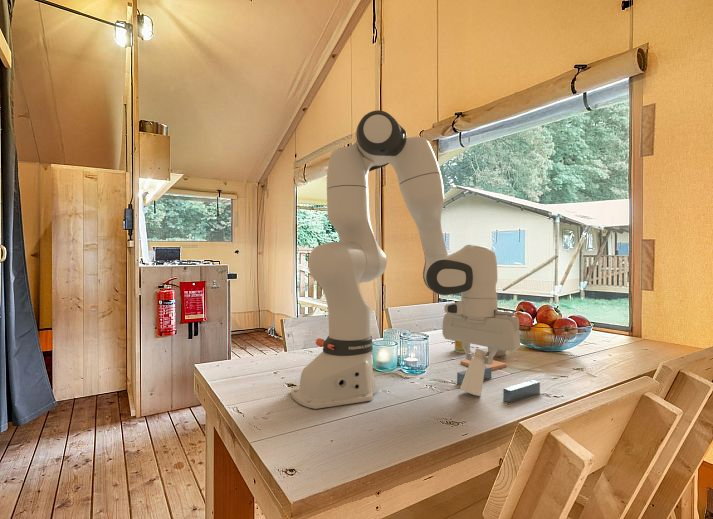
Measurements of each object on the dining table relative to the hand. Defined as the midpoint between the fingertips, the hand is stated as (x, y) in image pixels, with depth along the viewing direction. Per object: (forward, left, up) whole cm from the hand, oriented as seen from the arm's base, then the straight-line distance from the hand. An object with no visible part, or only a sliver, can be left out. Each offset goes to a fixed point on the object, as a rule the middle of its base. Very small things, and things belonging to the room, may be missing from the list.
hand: (479, 361), depth 99 cm
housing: (+7, 0, -8) cm, 11 cm away
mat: (+21, +16, -8) cm, 28 cm away
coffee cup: (+37, +23, -9) cm, 45 cm away
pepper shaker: (-3, +1, -8) cm, 8 cm away
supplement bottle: (+29, +32, -9) cm, 44 cm away
